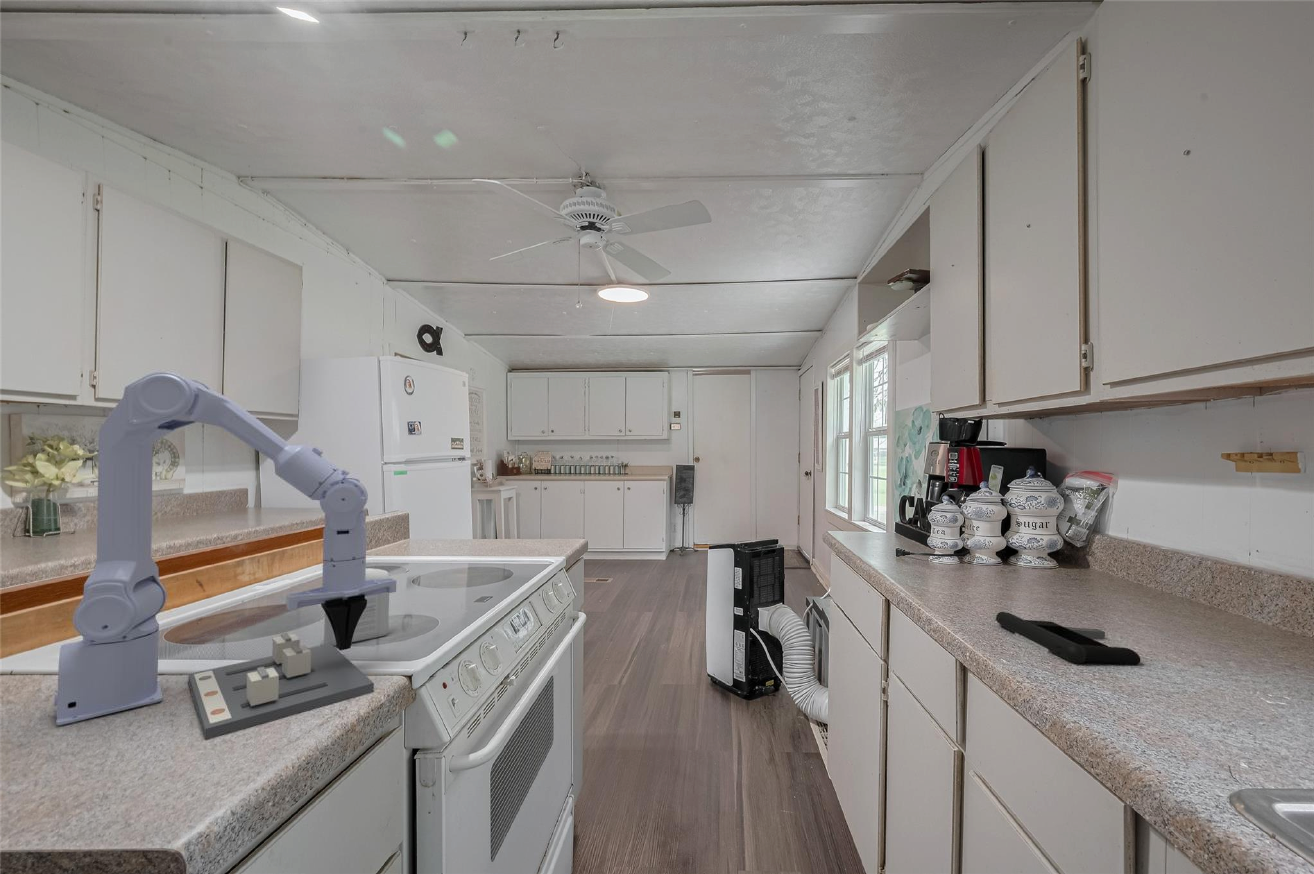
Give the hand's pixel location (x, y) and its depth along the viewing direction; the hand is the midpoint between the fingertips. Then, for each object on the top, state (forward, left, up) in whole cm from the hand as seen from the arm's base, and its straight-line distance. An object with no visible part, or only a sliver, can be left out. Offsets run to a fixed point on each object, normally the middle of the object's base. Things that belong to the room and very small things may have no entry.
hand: (343, 647), depth 82 cm
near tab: (-11, -7, -2) cm, 13 cm away
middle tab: (-6, 0, -2) cm, 6 cm away
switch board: (-8, 0, -4) cm, 9 cm away
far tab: (-6, +7, -2) cm, 9 cm away
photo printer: (+6, +14, -4) cm, 16 cm away
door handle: (+93, -75, -4) cm, 120 cm away
